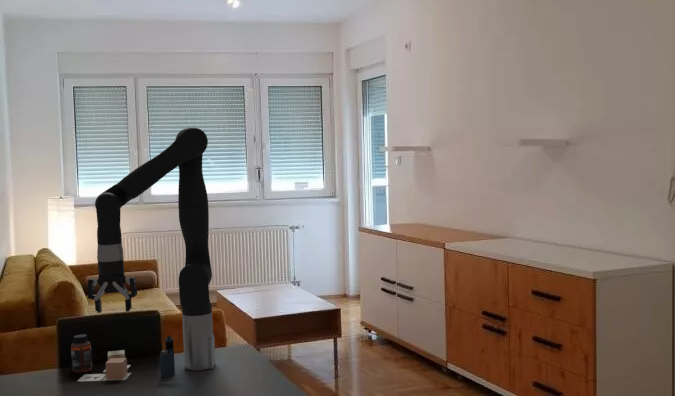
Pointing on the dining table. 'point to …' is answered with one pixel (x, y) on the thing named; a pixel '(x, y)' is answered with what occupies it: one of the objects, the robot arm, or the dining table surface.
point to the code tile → (92, 377)
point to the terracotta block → (116, 368)
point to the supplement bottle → (81, 354)
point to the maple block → (116, 354)
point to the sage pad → (118, 379)
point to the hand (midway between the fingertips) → (113, 311)
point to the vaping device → (167, 359)
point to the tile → (127, 368)
